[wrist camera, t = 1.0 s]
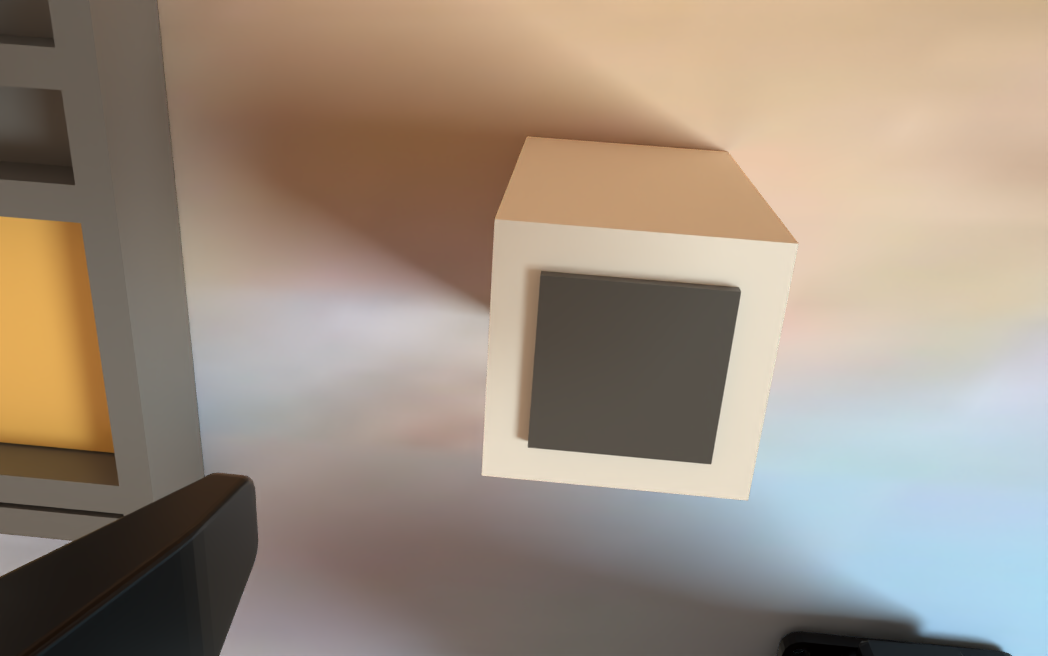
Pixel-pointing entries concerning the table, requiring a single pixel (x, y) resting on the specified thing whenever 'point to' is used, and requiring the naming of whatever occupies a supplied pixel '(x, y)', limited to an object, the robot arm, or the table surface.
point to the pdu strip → (89, 272)
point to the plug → (632, 319)
